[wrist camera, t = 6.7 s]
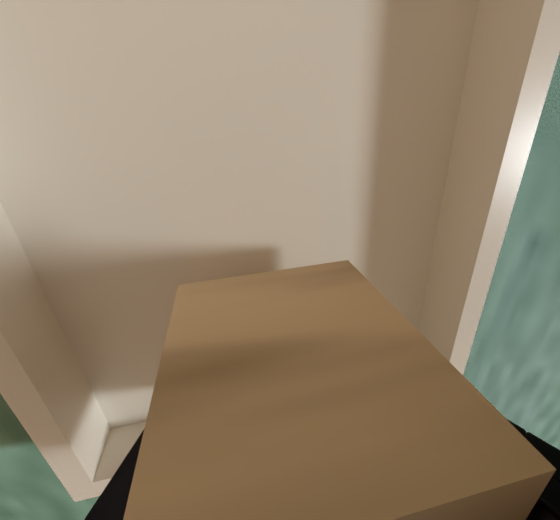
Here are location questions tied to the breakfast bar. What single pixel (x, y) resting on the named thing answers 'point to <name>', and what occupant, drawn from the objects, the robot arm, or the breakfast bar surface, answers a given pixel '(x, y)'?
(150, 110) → the tray
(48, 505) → the breakfast bar surface
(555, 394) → the breakfast bar surface
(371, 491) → the maple block
